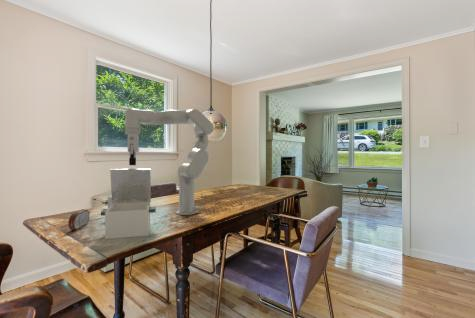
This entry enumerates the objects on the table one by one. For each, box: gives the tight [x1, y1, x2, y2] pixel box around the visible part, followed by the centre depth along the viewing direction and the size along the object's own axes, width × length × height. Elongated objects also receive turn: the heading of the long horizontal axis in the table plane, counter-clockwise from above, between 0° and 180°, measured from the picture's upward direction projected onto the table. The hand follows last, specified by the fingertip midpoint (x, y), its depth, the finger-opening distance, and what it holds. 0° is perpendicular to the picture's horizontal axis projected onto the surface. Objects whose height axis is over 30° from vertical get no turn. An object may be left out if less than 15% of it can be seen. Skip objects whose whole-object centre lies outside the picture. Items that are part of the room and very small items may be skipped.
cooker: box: [100, 202, 157, 240], centre depth 120 cm, size 24×18×12 cm
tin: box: [67, 209, 90, 231], centre depth 125 cm, size 15×3×8 cm, turn 5°
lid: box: [109, 168, 152, 204], centre depth 127 cm, size 19×19×3 cm
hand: (132, 165), depth 135 cm, fingers closed
